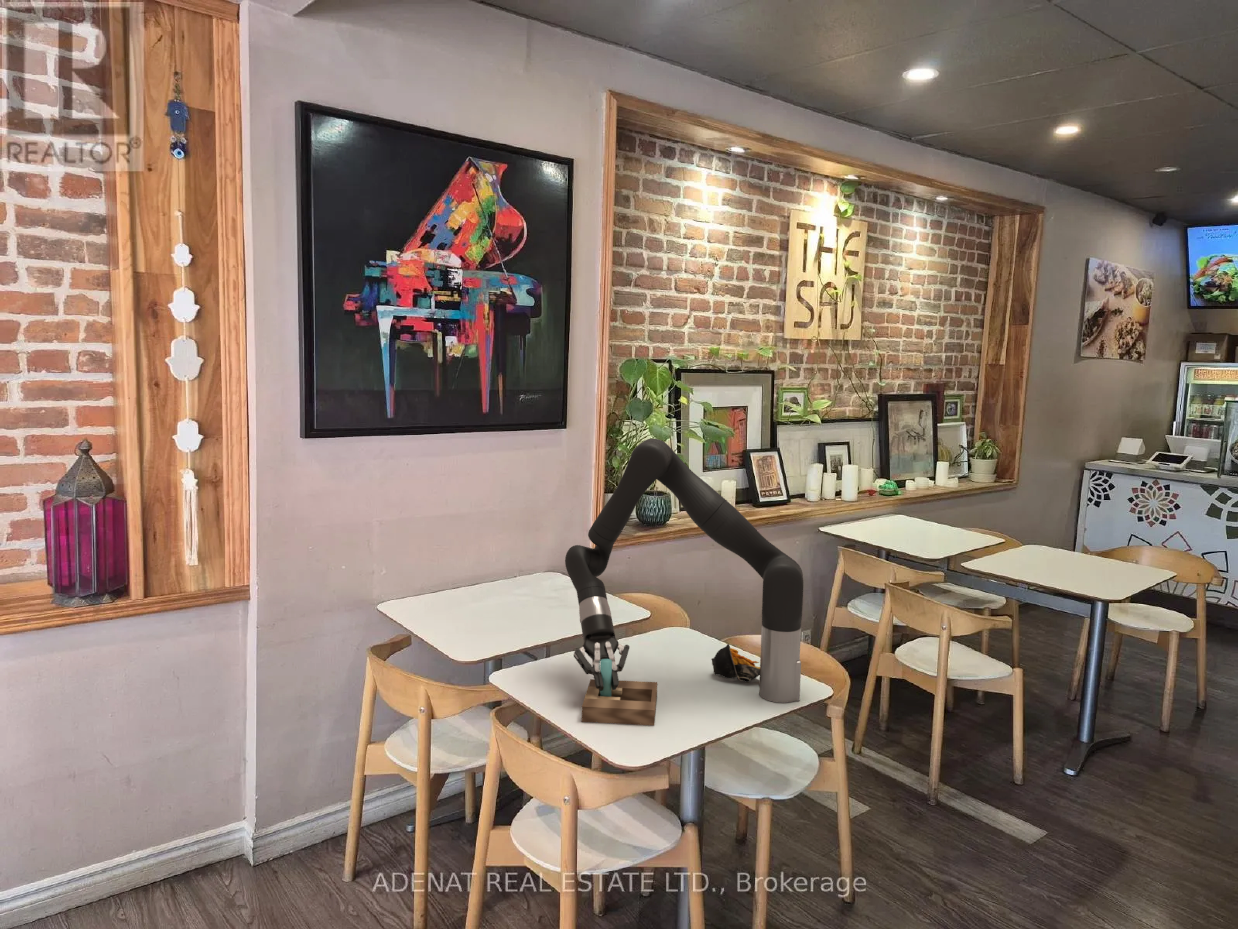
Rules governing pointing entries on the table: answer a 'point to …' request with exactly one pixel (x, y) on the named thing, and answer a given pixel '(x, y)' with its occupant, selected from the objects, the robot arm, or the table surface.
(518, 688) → the table surface
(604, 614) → the robot arm
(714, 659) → the black fries container
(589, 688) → the keyhole plate
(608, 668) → the peg
